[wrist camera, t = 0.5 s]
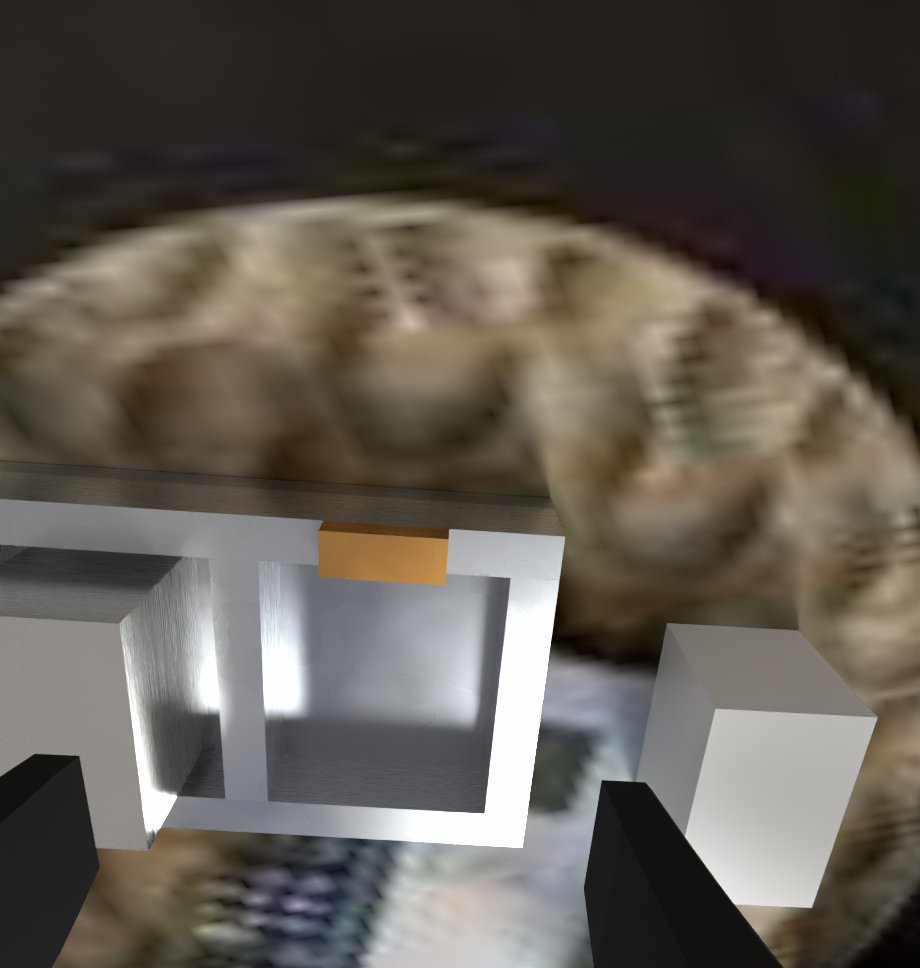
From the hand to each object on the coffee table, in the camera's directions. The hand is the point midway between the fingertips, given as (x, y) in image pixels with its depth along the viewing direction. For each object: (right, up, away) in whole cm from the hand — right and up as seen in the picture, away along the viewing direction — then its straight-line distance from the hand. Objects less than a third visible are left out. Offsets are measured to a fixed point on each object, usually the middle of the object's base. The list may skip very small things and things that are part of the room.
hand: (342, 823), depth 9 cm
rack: (-4, 0, +10) cm, 11 cm away
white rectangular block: (+10, -3, +11) cm, 15 cm away
